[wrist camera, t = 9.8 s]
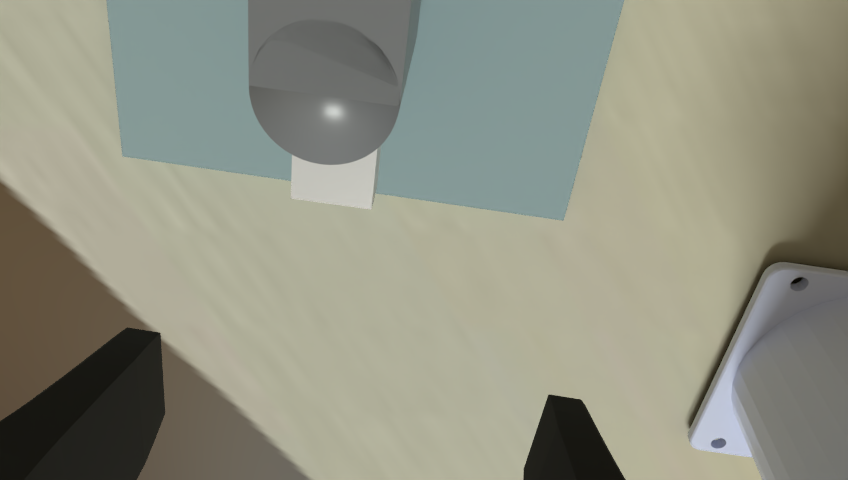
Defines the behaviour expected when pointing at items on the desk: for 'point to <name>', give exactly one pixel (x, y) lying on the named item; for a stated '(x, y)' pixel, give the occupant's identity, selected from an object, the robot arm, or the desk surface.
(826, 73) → the desk surface
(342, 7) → the plug
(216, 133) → the mat
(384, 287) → the desk surface
